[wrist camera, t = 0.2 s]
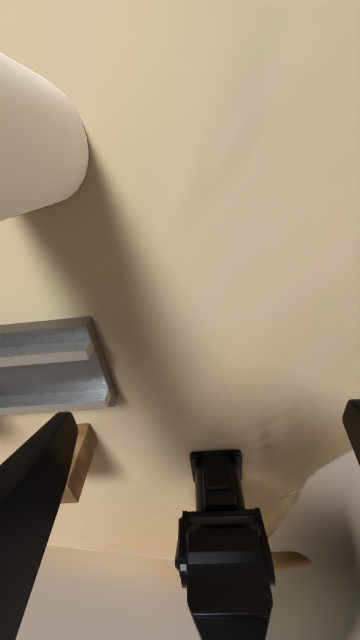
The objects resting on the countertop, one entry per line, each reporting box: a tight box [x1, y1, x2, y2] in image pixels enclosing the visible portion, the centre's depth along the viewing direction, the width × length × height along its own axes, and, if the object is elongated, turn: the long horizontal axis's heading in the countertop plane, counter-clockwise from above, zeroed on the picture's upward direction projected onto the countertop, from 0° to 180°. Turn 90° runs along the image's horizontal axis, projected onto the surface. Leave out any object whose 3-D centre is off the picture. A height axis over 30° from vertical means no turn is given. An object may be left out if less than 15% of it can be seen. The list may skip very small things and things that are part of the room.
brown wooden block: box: [61, 423, 97, 503], centre depth 30 cm, size 3×6×7 cm, turn 97°
